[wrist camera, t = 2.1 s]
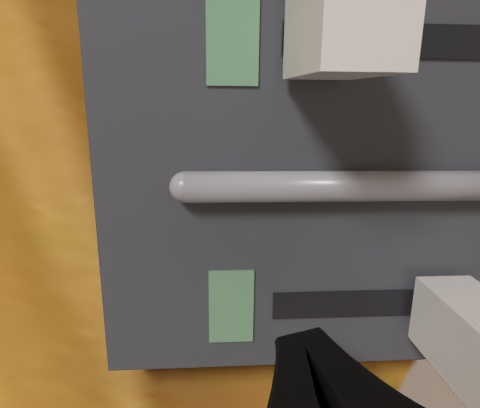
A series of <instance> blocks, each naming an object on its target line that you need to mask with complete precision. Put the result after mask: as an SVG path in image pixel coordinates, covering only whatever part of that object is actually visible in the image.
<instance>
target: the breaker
mask: <svg viewBox="0 0 480 408" xmlns="http://www.w3.org/2000/svg"><path fill="white" fill-rule="evenodd" d="M425 8H426V0H285V24H284V52H283V79H298V80H353V79H363V78H372V77H382V76H391V75H401V74H410V73H418V67H419V59H420V50H421V42H422V33H423V25H424V16H425Z"/></svg>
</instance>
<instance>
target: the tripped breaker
mask: <svg viewBox="0 0 480 408" xmlns="http://www.w3.org/2000/svg"><path fill="white" fill-rule="evenodd" d="M408 337H409V338H410V340H411V341H412V342H413V343H414V345H415V346H416V347H417V348H418V350H419V351H420V352H421V353H422V354H423V356H424V357H425V358H426V359H427V361H428V362H429V363H430V364H431V365H432V367H433V368H434V369H435V370H436V372H437V373H438V374H439V375H440V376H441V378H442V379H443V380H444V381H445V383H446V384H447V385H448V386H449V388H450V389H451V390H452V391H453V392H454V394H455V395H456V396H457V397H458V398H459V400H460V401H461V402H462V404H463V405H464V406H465V407H466V408H480V282H479V281H477V280H476V279H475V278H473V277H472V276H470V275H465V276H418V277H416V279H415V287H414V294H413V302H412V309H411V317H410V324H409V332H408Z"/></svg>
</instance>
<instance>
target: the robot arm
mask: <svg viewBox="0 0 480 408" xmlns="http://www.w3.org/2000/svg"><path fill="white" fill-rule="evenodd" d="M275 347H276V359H275V370H274V376H273V382H272V388H271V393H270V397H269V401H268V406H267V408H425V407H423V406H421V405H419V404H418V403H416V402H414V401H412V400H411V399H409V398H408V397H406V396H404V395H403V394H401V393H400V392H398V391H397V390H395V389H394V388H392V387H391V386H389V385H388V384H386V383H385V382H383V381H382V380H381V379H379V378H378V377H376V376H375V375H374V374H372V373H371V372H370V371H368V370H367V369H366V368H365V367H363V366H362V365H361V364H360V363H358V362H357V361H356V360H355V359H354V358H352V357H351V356H350V355H349V354H348V353H346V352H345V351H344V350H343V349H342V348H341V347H340V346H339V345H338V344H337V343H335V342H334V341H333V340H332V339H331V338H330V337H329V336H328V335H327V334H326V333H325V332H324V330H322V329H321V328H319V327H317V328H313V329H309V330H305V331H301V332H296V333H292V334H288V335H284V336H280V337H277V339H276V340H275Z"/></svg>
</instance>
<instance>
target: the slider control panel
mask: <svg viewBox="0 0 480 408" xmlns="http://www.w3.org/2000/svg"><path fill="white" fill-rule="evenodd" d="M77 9H78V21H79V33H80V44H81V56H82V67H83V79H84V91H85V102H86V114H87V126H88V137H89V149H90V160H91V172H92V184H93V195H94V207H95V219H96V230H97V242H98V253H99V265H100V277H101V288H102V300H103V312H104V323H105V335H106V346H107V358H108V370H109V371H110V370H138V369H166V368H194V367H222V366H250V365H275V359H276V347H275V340H276V339H277V337H280V336H284V335H288V334H292V333H296V332H301V331H305V330H309V329H313V328H317V327H319V328H321V329H322V330H324V332H325V333H326V334H327V335H328V336H329V337H330V338H331V339H332V340H333V341H334V342H335V343H337V344H338V345H339V346H340V347H341V348H342V349H343V350H344V351H345V352H346V353H348V354H349V355H350V356H351V357H352V358H354V359H355V360H356V361H357V362H362V361H390V360H418V359H426V358H425V357H424V356H423V354H422V353H421V352H420V351H419V350H418V348H417V347H416V346H415V345H414V343H413V342H412V341H411V340H410V338H409V337H408V332H409V324H410V317H411V309H412V302H413V294H414V287H415V279H416V277H418V276H465V275H470V276H472V277H473V278H475V279H476V280H477V281H479V282H480V0H426V8H425V16H424V25H423V33H422V42H421V50H420V59H419V67H418V73H410V74H401V75H391V76H382V77H372V78H363V79H353V80H298V79H283V52H284V24H285V0H77Z"/></svg>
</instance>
